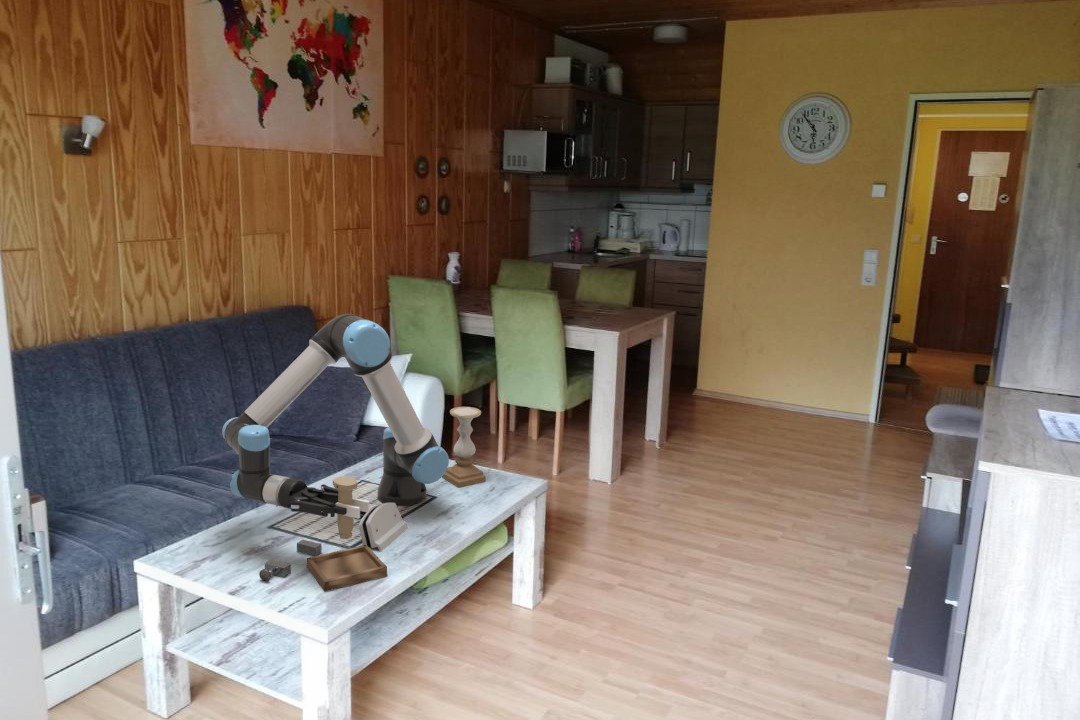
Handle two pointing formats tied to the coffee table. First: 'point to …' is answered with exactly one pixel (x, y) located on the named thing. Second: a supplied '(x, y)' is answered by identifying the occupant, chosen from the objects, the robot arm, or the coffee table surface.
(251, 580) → the coffee table surface
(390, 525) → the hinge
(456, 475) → the candle holder
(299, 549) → the block
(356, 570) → the tray
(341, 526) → the handle
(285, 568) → the vise jaw outer
